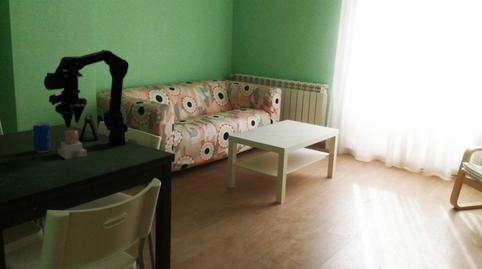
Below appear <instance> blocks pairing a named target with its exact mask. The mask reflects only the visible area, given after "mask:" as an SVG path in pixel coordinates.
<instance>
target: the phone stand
mask: <svg viewBox="0 0 482 269" xmlns="http://www.w3.org/2000/svg"><path fill="white" fill-rule="evenodd" d="M88 117H89V118H88ZM88 124H89V126H90V129H91V132H92V136H85V133H86V131H87V126H88ZM99 139H100V135H99V133H98V130H97V128H96V125H95V123H94V121H93V114H92V113H90V114H89V113H86V115H85V116H84V124H83V127H82V129H81V132H80V135H79V136H78V141H79V142H82V141H86V142H88V141H89V142H91V141H94V142H95V141H99Z"/></svg>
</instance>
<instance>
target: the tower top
mask: <svg viewBox="0 0 482 269" xmlns="http://www.w3.org/2000/svg"><path fill="white" fill-rule="evenodd" d="M60 148H61V149H62V150H63V151H64V152H65V153H67V152H76V151H82V148H83V143H82V141H79V140H78V143H77V144H66V143H65V140H64V141H60Z"/></svg>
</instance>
